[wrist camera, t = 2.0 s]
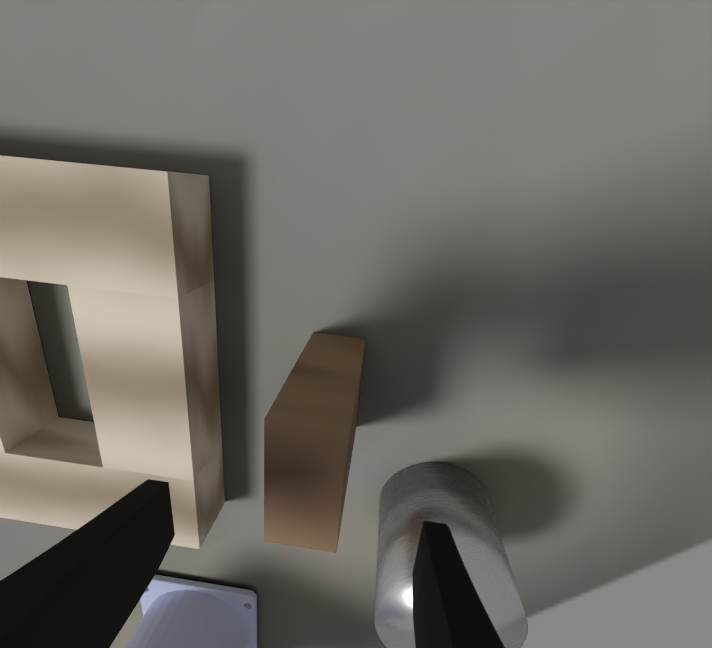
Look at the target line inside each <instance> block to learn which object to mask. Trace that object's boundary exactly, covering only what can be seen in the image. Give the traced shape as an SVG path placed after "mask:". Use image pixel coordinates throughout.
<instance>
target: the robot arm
mask: <svg viewBox="0 0 712 648" xmlns="http://www.w3.org/2000/svg"><path fill="white" fill-rule="evenodd" d="M174 536H175V531H174V523H173V515H172V506H171V498H170V490H169V482H164V481H157V480H150V479H148V480H146V481H145V482H143V483H142V484H140V485H139V486H138V487H136V488H135V489H133V490H132V491H131V492H129V493H128V494H127V495H125V496H124V497H122V498H121V499H120V500H118V501H117V502H115V503H114V504H113V505H111V506H110V507H108V508H107V509H106V510H104V511H103V512H101V513H100V514H99V515H97V516H96V517H95V518H93V519H92V520H90V521H89V522H87V523H86V524H85V525H83V526H82V527H80V528H79V529H77V530H76V531H75V532H73V533H72V534H70V535H69V536H67V537H66V538H65V539H63V540H62V541H60V542H59V543H57V544H56V545H54V546H53V547H51V548H50V549H48V550H47V551H45V552H44V553H42V554H41V555H39V556H38V557H36V558H35V559H33V560H32V561H30V562H29V563H27V564H26V565H24V566H23V567H21V568H20V569H18V570H17V571H15V572H14V573H12V574H10V575H9V576H7V577H6V578H4V579H3V580H1V581H0V648H109V647H110V646H111V644H112V642H113V641H114V639H115V638H116V636H117V635H118V633H119V631H120V630H121V628H122V627H123V625H124V624H125V622H126V620H127V619H128V617H129V616H130V614H131V613H132V611H133V609H134V608H135V606H136V605H137V603H138V602H139V600H141V606H142V611H143V618H142V620H141V622H140V623H139V625H138V627H137V629H136V630H135V632H134V634H133V635H132V637H131V639H130V640H129V642H128V644H127V646H126V647H125V648H257V595H256V593H255V592H254V591H252V590H247V589H241V588H235V587H229V586H223V585H217V584H210V583H204V582H198V581H192V580H186V579H180V578H174V577H168V576H162V575H156V572H157V570H158V568H159V566H160V564H161V562H162V560H163V558H164V556H165V554H166V552H167V550H168V548H169V546H170V544H171V542H172V540H173V538H174ZM412 577H413V625H414V636H415V646H416V648H505V647H504V645H503V643H502V641H501V639H500V637H499V635H498V633H497V631H496V630H495V628H494V626H493V624H492V622H491V620H490V618H489V616H488V614H487V612H486V610H485V608H484V606H483V604H482V602H481V600H480V598H479V596H478V594H477V591H476V589H475V587H474V585H473V583H472V581H471V579H470V576H469V574H468V572H467V570H466V567H465V565H464V563H463V561H462V558H461V556H460V554H459V551H458V549H457V546H456V544H455V541H454V539H453V536H452V534H451V531H450V528H449V527H448V526H447V524H443V523H437V522H430V521H423V525H422V530H421V535H420V539H419V544H418V549H417V554H416V558H415V563H414V568H413V573H412Z"/></svg>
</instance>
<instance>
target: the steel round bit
mask: <svg viewBox="0 0 712 648" xmlns="http://www.w3.org/2000/svg"><path fill="white" fill-rule="evenodd" d="M423 521H430V522H437V523H443V524H447V526H448V527H449V528H450V531H451V534H452V536H453V539H454V541H455V544H456V546H457V549H458V551H459V554H460V556H461V558H462V561H463V563H464V565H465V567H466V570H467V572H468V574H469V576H470V579H471V581H472V583H473V585H474V587H475V589H476V591H477V594H478V596H479V598H480V600H481V602H482V604H483V606H484V608H485V610H486V612H487V614H488V616H489V618H490V620H491V622H492V624H493V626H494V628H495V630H496V631H497V633H498V635H499V637H500V639H501V641H502V643H503V645H504V647H505V648H521V647H522V645H523V643H524V641H525V639H526V636H527V631H528V624H527V618H526V615H525V612H524V609H523V606H522V602H521V599H520V596H519V593H518V590H517V586H516V583H515V580H514V577H513V574H512V570H511V567H510V564H509V561H508V558H507V555H506V551H505V548H504V545H503V542H502V539H501V535H500V532H499V529H498V526H497V523H496V519H495V516H494V513H493V510H492V507H491V503H490V500H489V497H488V494H487V491H486V490H485V488H484V486H483V485H482V483H481V482H480V481H479V480H478V479H477V478H476V477H475V476H474V475H472V474H471V473H470V472H468V471H466V470H465V469H462V468H460V467H458V466H455V465H451V464H447V463H440V462H426V463H419V464H415V465H411V466H409V467H406V468H404V469H402V470H400V471H399V472H397V473H396V474H394V475H393V476H392V477H391V478H390V479H389V480H388V481H387V482H386V484H385V485H384V487H383V489H382V492H381V495H380V503H379V526H378V550H377V573H376V597H375V628H376V631H377V634H378V636H379V638H380V639H381V641H382V642H383V644H384V645H385V646H386V647H387V648H416V646H415V636H414V625H413V577H412V573H413V568H414V563H415V558H416V554H417V549H418V544H419V539H420V535H421V530H422V525H423Z"/></svg>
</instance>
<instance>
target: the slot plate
mask: <svg viewBox="0 0 712 648" xmlns="http://www.w3.org/2000/svg"><path fill="white" fill-rule="evenodd" d="M26 280H28V281H36V282H45V283H53V284H62V285H67V286H68V291H69V296H70V301H71V306H72V311H73V317H74V322H75V327H76V332H77V337H78V342H79V347H80V352H81V358H82V363H83V368H84V373H85V378H86V383H87V388H88V393H89V399H90V404H91V409H92V414H93V419H94V422H90V421H83V420H76V419H69V418H61V417H58V413H57V408H56V404H55V400H54V396H53V391H52V387H51V383H50V379H49V374H48V370H47V366H46V362H45V357H44V353H43V349H42V345H41V340H40V336H39V332H38V328H37V323H36V319H35V315H34V311H33V306H32V302H31V298H30V294H29V289H28V285H27V281H26ZM148 479H150V480H157V481H164V482H169V490H170V498H171V506H172V515H173V523H174V531H175V536H174V538H173V540H172V542H171V545H177V546H184V547H190V548H196V549H200V547H201V545H202V544H203V542H204V540H205V538H206V536H207V534H208V533H209V531H210V529H211V527H212V525H213V523H214V521H215V520H216V518H217V516H218V514H219V512H220V510H221V508H222V507H223V505H224V503H225V495H224V474H223V454H222V433H221V412H220V391H219V371H218V350H217V329H216V308H215V288H214V267H213V246H212V225H211V205H210V184H209V175H199V174H189V173H178V172H168V171H158V170H148V169H137V168H127V167H117V166H107V165H96V164H86V163H76V162H66V161H55V160H45V159H35V158H25V157H14V156H4V155H0V517H1V518H8V519H14V520H20V521H26V522H33V523H39V524H45V525H52V526H58V527H64V528H70V529H79V528H80V527H82V526H83V525H85V524H86V523H87V522H89V521H90V520H92V519H93V518H95V517H96V516H97V515H99V514H100V513H101V512H103V511H104V510H106V509H107V508H108V507H110V506H111V505H113V504H114V503H115V502H117V501H118V500H120V499H121V498H122V497H124V496H125V495H127V494H128V493H129V492H131V491H132V490H133V489H135V488H136V487H138V486H139V485H140V484H142V483H143V482H145V481H146V480H148Z"/></svg>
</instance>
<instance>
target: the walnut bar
mask: <svg viewBox="0 0 712 648" xmlns="http://www.w3.org/2000/svg"><path fill="white" fill-rule="evenodd" d="M365 341H366V339H365V338H357V337H349V336H340V335H332V334H324V333H316V332H313V334H312V336H311V338H310V339H309V341H308V343H307V345H306V346H305V348H304V350H303V352H302V353H301V355H300V357H299V359H298V360H297V362H296V364H295V366H294V368H293V369H292V371H291V373H290V375H289V376H288V378H287V380H286V382H285V383H284V385H283V387H282V389H281V390H280V392H279V394H278V396H277V398H276V399H275V401H274V403H273V405H272V406H271V408H270V410H269V412H268V413H267V415H266V417H265V425H264V541H265V542H271V543H278V544H284V545H290V546H297V547H303V548H310V549H316V550H322V551H329V552H335V553H336V552H337V545H338V539H339V533H340V526H341V520H342V514H343V507H344V501H345V495H346V488H347V482H348V475H349V469H350V463H351V456H352V450H353V444H354V437H355V431H356V423H357V414H358V405H359V396H360V387H361V378H362V368H363V359H364V350H365Z"/></svg>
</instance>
